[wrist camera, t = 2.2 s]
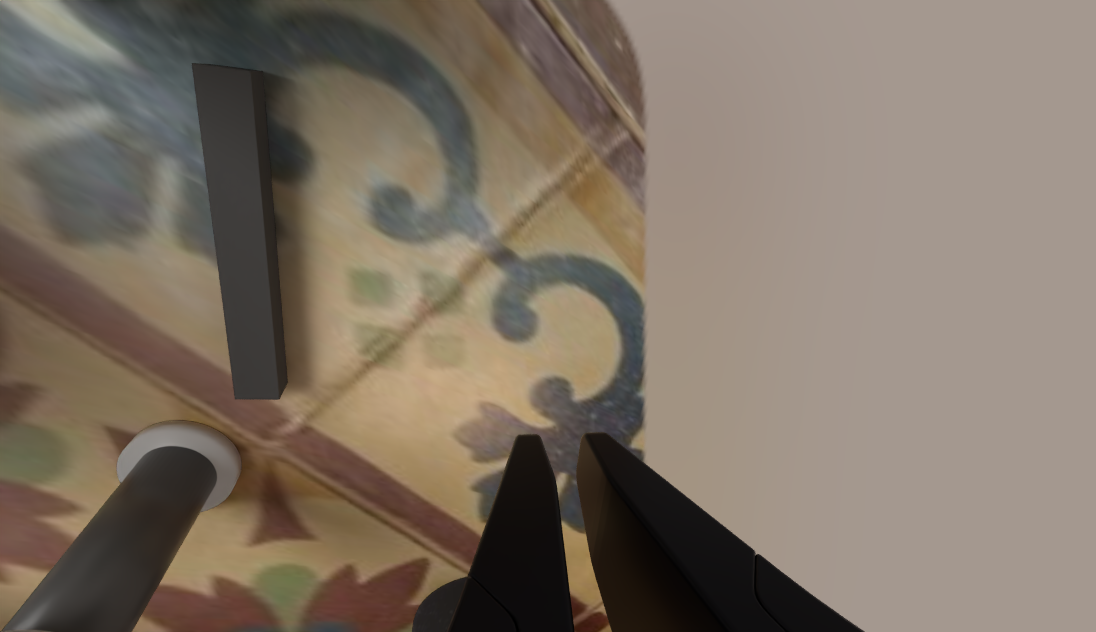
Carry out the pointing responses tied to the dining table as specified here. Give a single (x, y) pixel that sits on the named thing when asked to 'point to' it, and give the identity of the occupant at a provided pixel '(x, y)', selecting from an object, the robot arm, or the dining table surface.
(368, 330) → the dining table surface
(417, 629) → the travel mug
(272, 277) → the dark grey rectangular bar
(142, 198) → the dining table surface
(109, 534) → the cord spool
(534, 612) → the robot arm
